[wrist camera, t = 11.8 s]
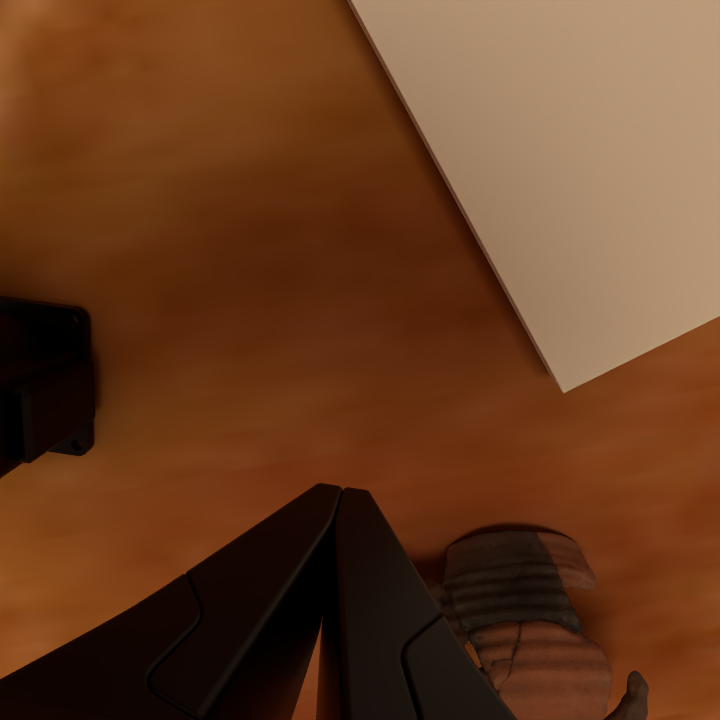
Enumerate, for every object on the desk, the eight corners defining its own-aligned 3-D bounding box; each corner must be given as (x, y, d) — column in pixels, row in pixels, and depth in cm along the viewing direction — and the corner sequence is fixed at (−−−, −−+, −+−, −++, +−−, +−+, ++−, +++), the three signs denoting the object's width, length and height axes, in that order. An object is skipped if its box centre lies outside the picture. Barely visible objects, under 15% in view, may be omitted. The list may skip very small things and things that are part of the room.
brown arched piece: (646, 534, 24) (741, 773, 18) (529, 608, 30) (572, 800, 24) (383, 494, 21) (399, 765, 15) (318, 586, 27) (311, 799, 21)
